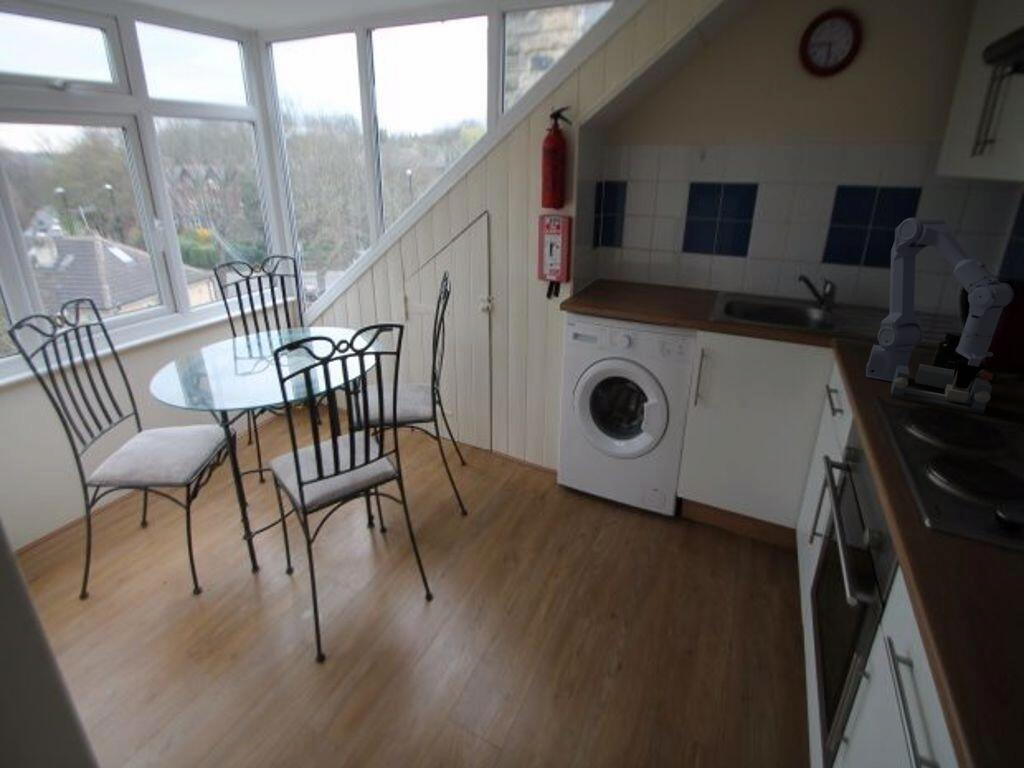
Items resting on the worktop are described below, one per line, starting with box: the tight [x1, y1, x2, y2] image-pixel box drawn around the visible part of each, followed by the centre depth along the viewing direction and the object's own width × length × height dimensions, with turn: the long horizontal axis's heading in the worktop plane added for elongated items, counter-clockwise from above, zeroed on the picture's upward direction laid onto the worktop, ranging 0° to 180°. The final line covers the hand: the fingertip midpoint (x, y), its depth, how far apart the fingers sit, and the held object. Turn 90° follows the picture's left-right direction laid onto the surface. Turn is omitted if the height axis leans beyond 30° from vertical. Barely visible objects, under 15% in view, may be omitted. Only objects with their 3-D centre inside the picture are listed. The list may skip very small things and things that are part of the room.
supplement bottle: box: [930, 331, 963, 370], centre depth 157 cm, size 7×7×12 cm
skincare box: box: [914, 363, 974, 393], centre depth 149 cm, size 6×4×12 cm
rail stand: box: [890, 365, 993, 415], centre depth 139 cm, size 20×8×7 cm, turn 58°
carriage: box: [944, 372, 970, 403], centre depth 136 cm, size 4×5×7 cm
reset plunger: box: [978, 371, 994, 381], centre depth 133 cm, size 2×2×1 cm
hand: (960, 384), depth 136 cm, fingers open, 4 cm apart
